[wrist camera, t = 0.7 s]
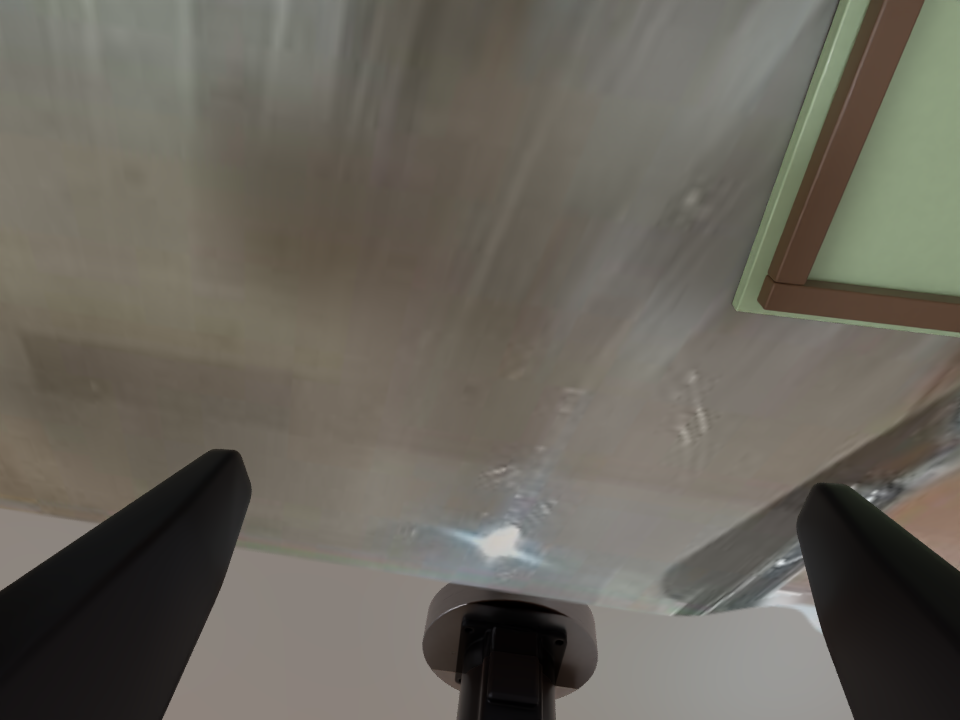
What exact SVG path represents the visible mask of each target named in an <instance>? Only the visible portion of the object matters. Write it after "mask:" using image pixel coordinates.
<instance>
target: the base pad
mask: <svg viewBox="0 0 960 720" xmlns="http://www.w3.org/2000/svg"><path fill="white" fill-rule="evenodd" d="M732 305H733V307H734V308H735V310H736V311H739V312H748V313H756V314H765V315H773V316H782V317H790V318H799V319H807V320H816V321H824V322H833V323H841V324H850V325H858V326H867V327H875V328H884V329H892V330H901V331H909V332H918V333H926V334H935V335H943V336H952V337H960V0H840V2H839V5H838V8H837V11H836V13H835V16H834V19H833V22H832V25H831V27H830V30H829V33H828V36H827V39H826V41H825V44H824V47H823V50H822V53H821V56H820V58H819V61H818V64H817V67H816V70H815V72H814V75H813V78H812V81H811V84H810V86H809V89H808V92H807V95H806V98H805V100H804V103H803V106H802V109H801V112H800V114H799V117H798V120H797V123H796V126H795V129H794V131H793V134H792V137H791V140H790V143H789V145H788V148H787V151H786V154H785V157H784V159H783V162H782V165H781V168H780V171H779V173H778V176H777V179H776V182H775V185H774V187H773V190H772V193H771V196H770V199H769V202H768V204H767V207H766V210H765V213H764V216H763V218H762V221H761V224H760V227H759V230H758V232H757V235H756V238H755V241H754V244H753V246H752V249H751V252H750V255H749V258H748V260H747V263H746V266H745V269H744V272H743V274H742V277H741V280H740V283H739V286H738V289H737V291H736V294H735V297H734V300H733V303H732Z"/></svg>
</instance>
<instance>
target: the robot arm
mask: <svg viewBox="0 0 960 720" xmlns="http://www.w3.org/2000/svg"><path fill="white" fill-rule="evenodd" d="M251 492H252V489H251V483H250V480H249V477H248V474H247V471H246V468H245V465H244V462H243V460H242V457H241V455H240V453H239V452H237V451H235V450H225V449H213V450H210V451H208V452H206V453H205V454H203V455H202V456H200V457H199V458H197V459H196V460H194V461H193V462H192V463H190V464H189V465H187V466H186V467H184V468H183V469H181V470H180V471H178V472H177V473H175V474H174V475H172V476H171V477H169V478H168V479H166V480H165V481H163V482H162V483H160V484H159V485H157V486H156V487H154V488H153V489H151V490H150V491H148V492H147V493H145V494H144V495H142V496H141V497H139V498H138V499H137V500H135V501H134V502H132V503H131V504H129V505H128V506H126V507H125V508H123V509H122V510H120V511H119V512H117V513H116V514H114V515H113V516H111V517H110V518H108V519H107V520H105V521H104V522H102V523H101V524H99V525H98V526H96V527H95V528H94V529H92V530H90V531H89V532H87V533H86V534H85V535H83V536H81V537H80V538H79V539H77V540H76V541H74V542H73V543H71V544H70V545H68V546H67V547H65V548H64V549H62V550H61V551H59V552H58V553H56V554H55V555H53V556H52V557H50V558H49V559H47V560H46V561H44V562H43V563H41V564H40V565H38V566H37V567H36V568H34V569H33V570H31V571H29V572H28V573H26V574H25V575H24V576H22V577H21V578H19V579H18V580H16V581H15V582H13V583H12V584H10V585H9V586H7V587H6V588H4V589H3V590H1V591H0V720H162V718H163V716H164V714H165V712H166V710H167V707H168V705H169V703H170V701H171V698H172V696H173V694H174V692H175V690H176V687H177V685H178V683H179V681H180V678H181V676H182V674H183V672H184V669H185V667H186V665H187V663H188V661H189V658H190V656H191V654H192V652H193V649H194V647H195V645H196V643H197V640H198V638H199V636H200V634H201V632H202V629H203V627H204V625H205V623H206V620H207V618H208V616H209V614H210V611H211V609H212V607H213V605H214V603H215V600H216V598H217V596H218V593H219V591H220V589H221V586H222V583H223V581H224V578H225V575H226V572H227V569H228V566H229V563H230V560H231V557H232V554H233V551H234V548H235V545H236V542H237V539H238V536H239V533H240V530H241V526H242V523H243V520H244V517H245V514H246V511H247V508H248V505H249V502H250V499H251ZM796 528H797V535H798V539H799V543H800V547H801V551H802V555H803V559H804V563H805V567H806V571H807V575H808V579H809V583H810V587H811V591H812V595H813V599H814V603H815V607H816V611H817V615H818V618H819V622H820V625H821V629H822V632H823V635H824V638H825V641H826V644H827V647H828V649H829V652H830V655H831V658H832V660H833V663H834V666H835V668H836V671H837V674H838V677H839V679H840V682H841V685H842V687H843V690H844V693H845V695H846V698H847V701H848V704H849V706H850V709H851V712H852V714H853V717H854V720H960V571H958V570H957V569H956V568H954V567H953V566H952V565H951V564H949V563H948V562H947V561H945V560H944V559H943V558H941V557H940V556H939V555H938V554H936V553H935V552H934V551H932V550H931V549H930V548H928V547H927V546H926V545H925V544H923V543H922V542H921V541H919V540H918V539H917V538H916V537H914V536H913V535H912V534H910V533H909V532H908V531H906V530H905V529H904V528H903V527H901V526H900V525H899V524H897V523H896V522H895V521H893V520H892V519H891V518H890V517H888V516H887V515H886V514H884V513H883V512H882V511H881V510H879V509H878V508H877V507H875V506H874V505H873V504H871V503H870V502H869V501H868V500H866V499H865V498H864V497H862V496H861V495H860V494H858V493H857V492H856V491H855V490H853V489H852V488H850V487H849V486H847V485H844V484H834V483H817V484H815V485H814V486H813V487H812V489H811V491H810V493H809V495H808V497H807V499H806V501H805V503H804V505H803V507H802V509H801V511H800V514H799V516H798V519H797V526H796ZM566 646H567V635H566V634H565V633H564V632H560V631H553V630H545V629H538V628H530V627H523V626H516V625H508V624H501V623H493V622H486V621H478V620H471V619H467V620H464V621H462V623H461V631H460V640H459V648H458V656H457V665H456V673H455V682H456V683H458V684H460V685H461V686H460V695H459V704H458V712H457V720H556V713H555V685H556V681H557V678H558V674H559V671H560V667H561V664H562V660H563V657H564V653H565V650H566Z"/></svg>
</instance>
